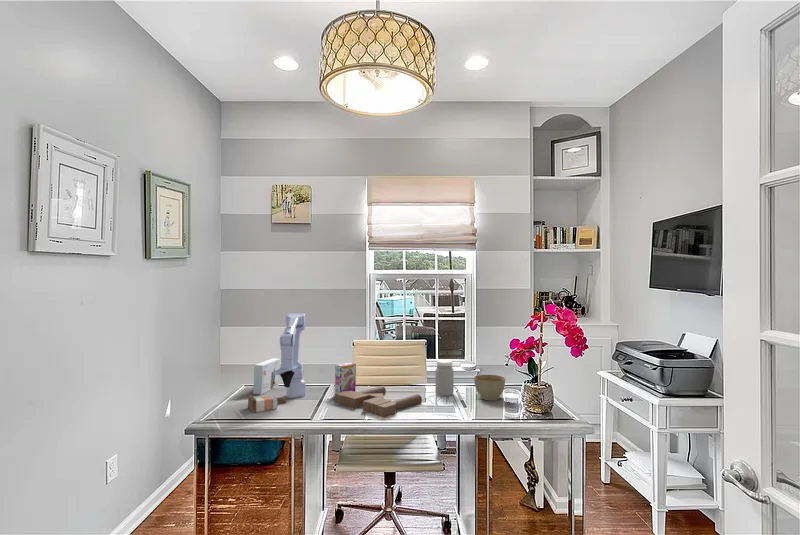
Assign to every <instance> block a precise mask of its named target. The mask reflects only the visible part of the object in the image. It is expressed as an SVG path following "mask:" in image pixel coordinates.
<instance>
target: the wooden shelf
mask: <svg viewBox="0 0 800 535" xmlns="http://www.w3.org/2000/svg"><path fill="white" fill-rule="evenodd" d="M275 398H276V399H277V405H281V404H286V403H287V397H286V396H281V397H275ZM247 399H248V400H247V401H248V402H247V407H248V410H250V412H251V413H252V414H255V413H257V412H256V399H255V397H254V396H253V395H252V394H249V395H248V397H247Z"/></svg>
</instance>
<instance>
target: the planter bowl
mask: <svg viewBox="0 0 800 535" xmlns="http://www.w3.org/2000/svg"><path fill="white" fill-rule="evenodd" d="M473 379H474V380H473V381H474V387H475V389H476V391H477V394H479V397H480V399H481V400H483V399H484V400H485V401H494V400H495V401H498V400H499V399H500V396H501V395H502V393H503V391H504V390H505V385H506V377H504V376H503V375H497V374H479V375H475V376H474V377H473Z"/></svg>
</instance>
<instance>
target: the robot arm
mask: <svg viewBox="0 0 800 535" xmlns="http://www.w3.org/2000/svg"><path fill="white" fill-rule="evenodd" d="M306 317H307V316H306V314H305V313H286V316H285V324H286V327H285V328H284V331H283V334H282V335H280V336H279V346H280V347H279V348H280V351H281V352H280V369H278V370H276V371H275V375H279V377H280V378H281V380H282V382H283V387H284V388H286V390H285V394H286V395H285V397H286V398H289V399H294V398H295V399H296V398H300V397H306V382H305V380H304V374H305V373H304V372H305V371H304V364H302V363H301V362H300V360H299V359H300V347H301V346H300V345H301V344H300V343H301V334H302V331H304V330H305V328H306V319H307V318H306Z"/></svg>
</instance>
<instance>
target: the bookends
mask: <svg viewBox="0 0 800 535" xmlns="http://www.w3.org/2000/svg"><path fill="white" fill-rule="evenodd" d="M386 390H387V389H386V387H385V386H384V385H381V386H376V387H373V388H372V387H371V388H367V389H364V390H360V391H355V392H354V391H344V392H340V393H336V394H335V393H334V404H336V405H341V406H343V407H348V408H350V409H351V408H352V409H358V408H362V412H365V413H368V414H372V415H374V416H378V417H380V418H389V417H391V416H392V417H393V416H395V415H396V413H397V411H400V410H404V409H407V408H410V407H413V406H417V405H420V404H422V402H423V399H422V398H423V397H422V396H421V394H418V393H417V394H413V395H409V396H406V397H402V398H400V399H395V400H389V399H385V398H384V395H386V393H387V391H386Z"/></svg>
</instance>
